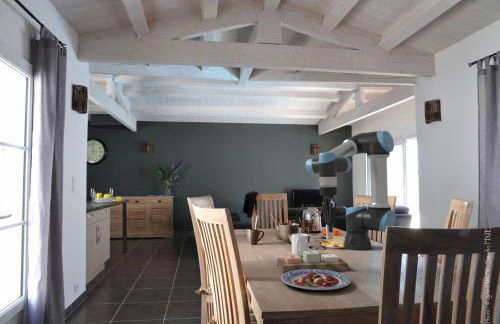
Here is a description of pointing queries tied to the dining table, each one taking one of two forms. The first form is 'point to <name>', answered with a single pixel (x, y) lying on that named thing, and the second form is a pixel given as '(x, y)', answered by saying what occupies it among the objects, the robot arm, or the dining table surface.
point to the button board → (312, 265)
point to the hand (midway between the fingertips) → (329, 238)
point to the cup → (299, 244)
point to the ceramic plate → (316, 279)
